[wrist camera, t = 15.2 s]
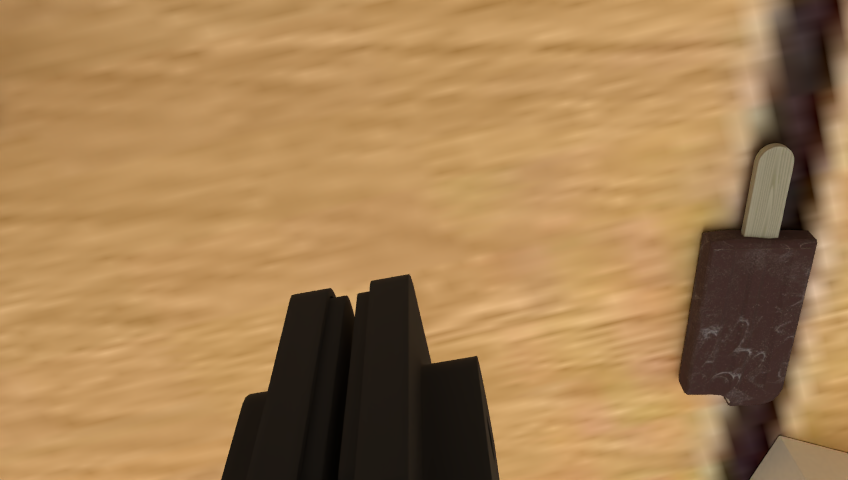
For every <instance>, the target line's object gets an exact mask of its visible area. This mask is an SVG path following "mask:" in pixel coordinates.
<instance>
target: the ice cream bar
mask: <svg viewBox="0 0 848 480" xmlns="http://www.w3.org/2000/svg"><path fill="white" fill-rule="evenodd" d="M793 165H794V156H793V153H792V152H791V151H790V149H788V148H787V147H786V146H785V145H783V144H779V143H773V144H769V145H767V146H765V147H763V148H762V149H761V150H760V151H759V152H758V154H757V155H756V158H755V161H754V166H753V172H752V177H751V182H750V188H749V193H748V198H747V203H746V209H745V214H744V219H743V225H742V230H720V231H712V232H704V233H703V234H702V240H701V246H700V253H699V259H698V265H697V271H696V277H695V283H694V289H693V295H692V301H691V307H690V313H689V319H688V325H687V331H686V337H685V344H684V350H683V356H682V362H681V368H680V374H679V382H680V384H681V386H682V389H683V391H684V393H686V394H687V395H707V394H713V395H721V396H723V397H724V398H725V400H726V402H727V404H728V405H730V406H742V405H759V404H764V403H767V402H770V401H772V400H773V399H774V398H776V397H777V396H778V395H779V393H780V392H781V390H782V387H783V383H784V379H785V375H786V371H787V367H788V362H789V358H790V354H791V350H792V346H793V341H794V337H795V333H796V329H797V325H798V321H799V316H800V312H801V308H802V304H803V300H804V295H805V291H806V287H807V283H808V279H809V275H810V270H811V266H812V262H813V258H814V254H815V250H816V245H817V240H816V239H815V238H814V237H813V236H812V235H811V234H810V233H809V231H803V230H780V226H781V222H782V217H783V212H784V207H785V203H786V198H787V193H788V189H789V184H790V179H791V175H792V170H793Z"/></svg>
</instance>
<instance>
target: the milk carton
mask: <svg viewBox="0 0 848 480" xmlns="http://www.w3.org/2000/svg"><path fill="white" fill-rule="evenodd" d="M750 480H848V453H845V452H841V451H837V450H834V449H830V448H826V447H822V446H818V445H814V444H811V443H807V442H803V441H799V440H795V439H791V438H787V437H784V436H779V437H778V438H777V440H776V441H775V443H774V444H773V446H772V447H771V449H770V450H769V452H768V453H767V455H766V456H765V457H764V459H763V460H762V462H761V463H760V465H759V466H758V468H757V469H756V471H755V472H754V474H753V475H752V477H751V478H750Z"/></svg>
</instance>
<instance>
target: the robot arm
mask: <svg viewBox="0 0 848 480" xmlns="http://www.w3.org/2000/svg"><path fill="white" fill-rule="evenodd" d="M221 480H499V473H498V466H497V459H496V452H495V445H494V439H493V433H492V427H491V422H490V416H489V410H488V405H487V400H486V395H485V390H484V385H483V380H482V375H481V370H480V365H479V361H478V358H477V356H474V357H469V358H463V359H457V360H451V361H445V362H439V363H433V364H431V359H430V355H429V351H428V346H427V342H426V338H425V334H424V329H423V325H422V321H421V316H420V312H419V308H418V303H417V299H416V295H415V291H414V286H413V283H412V279H411V276H410V275H409V274H408V275H402V276H396V277H391V278H385V279H379V280H374V281H371V283H370V292H364V293H359V294H358V295H357V302H356V312H355V316H354V313H353V309H352V306H351V303H350V300H349V298H348V296H341V297H336V296H335V294H334V292H333V290H332V289H331V288H328V289H323V290H317V291H311V292H306V293H300V294H294V295H292V296H291V298H290V302H289V306H288V310H287V314H286V318H285V322H284V327H283V331H282V335H281V339H280V343H279V347H278V351H277V355H276V359H275V363H274V367H273V372H272V376H271V380H270V384H269V388H268V391H266V392H260V393H254V394H250V395H248V396H247V397H246V398H245V400H244V402H243V405H242V408H241V411H240V415H239V419H238V422H237V426H236V429H235V433H234V436H233V440H232V443H231V447H230V450H229V454H228V458H227V461H226V465H225V468H224V472H223V475H222V479H221Z"/></svg>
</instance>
